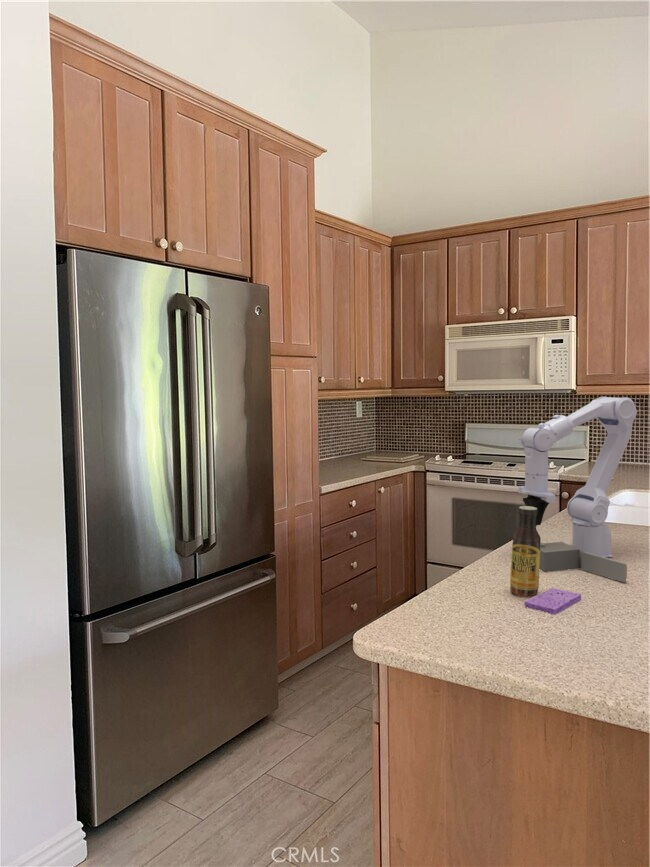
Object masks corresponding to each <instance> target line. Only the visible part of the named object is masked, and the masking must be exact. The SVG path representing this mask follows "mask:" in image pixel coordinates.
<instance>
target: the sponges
mask: <svg viewBox="0 0 650 867" xmlns="http://www.w3.org/2000/svg"><path fill="white" fill-rule="evenodd" d="M580 601H582V593H580V592H575V591H570V592H569V591H568V590H564V589H563V590H562V589H558V588H555V587H550V588H549V589H547V590H545V591H543V592H541V593H539V594H538V593H537V594H536V595H534V596H531V597H530V598H529V599H526V600H525V601H523V602H524V604H523V605H524V606H525V607H526V608H527V607H528V608H527V609H530V608H532V609H531V610H534V609H536V610H535V611H538V610H541V611H540V612H543V611H544V612H543V613H546V612H548V613H547V614H550V613H551V614H550V615H557V614H559V613H560V612H562V611H563V610H566V609H567V608H569V607H571V606H573V605H575V604H576V603H579V602H580Z"/></svg>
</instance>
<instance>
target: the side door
mask: <svg viewBox="0 0 650 867" xmlns="http://www.w3.org/2000/svg"><path fill="white" fill-rule="evenodd" d="M579 569H580V570H583V571H587V572H590V573H594V574H597V575H599V576H603V577H606V578H609V579H613V580H615V581H618V582H621V583H627V579H628V565H627V563H625V562H621V561H618V560H615V559H611V558H609V557H608V558H605V557H601V556H598V555H594V554H591V553H587V552H584V551H579Z"/></svg>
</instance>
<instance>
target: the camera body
mask: <svg viewBox="0 0 650 867" xmlns="http://www.w3.org/2000/svg"><path fill="white" fill-rule="evenodd" d="M579 551H580V549H578V548H575V547H573V546H572V545H570V544H568V543H565V542H562V541H556V542H555V541H554V542H540V568H539V569H540V570H539V571H541V570H542V572H543V571H544V573H546V572H547V573H548V571H550V572H557V571H559V570H560V571H568V569H570V570H579V569H580V568H579Z"/></svg>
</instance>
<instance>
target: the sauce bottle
mask: <svg viewBox="0 0 650 867" xmlns="http://www.w3.org/2000/svg"><path fill="white" fill-rule="evenodd" d="M518 515H519V516H518V524H517V525H518V526H517V528H516V529H515V531H514V532H513V536H512V546H511V555H510V556H511V557H510V559H511V560H510V574H509V575H510V576H509V578H510V579H509V585H510V590H509V591H510V592H511V593H512V594H513V595H516V596H520V597H528V596H529V597H530V598H532V597H534V596H536V595H538V593H539V588H540V586H539V585H540V570H539V568H540V543H541V536H540V534H539V532H538V530H537V525H536V516H537V508H535V507H531V506H526V505H523V506H519V507H518ZM529 597H528V598H529Z"/></svg>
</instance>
